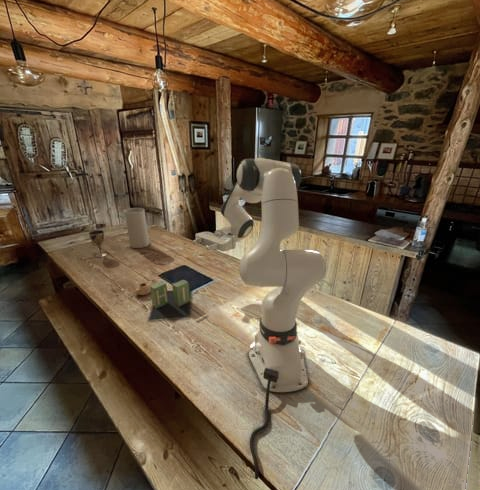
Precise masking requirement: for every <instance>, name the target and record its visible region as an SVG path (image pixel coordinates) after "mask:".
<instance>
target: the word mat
mask: <svg viewBox="0 0 480 490" xmlns="http://www.w3.org/2000/svg"><path fill="white" fill-rule="evenodd" d="M167 294H168V302H169V303H167V304H165V305H163V306H161V307H159V308H156V307H154V306H153V305H152V310H151V313H150V316H149V321H155V320H169V319H182V318H183V319H184V318H190V310H191V309H190V308H191V307H190V306H191V300H190V301H189V302H187V303H185V304H183V305H181V306H177V305H176V304H174V295H173V290H167ZM191 294H192V289H189V297H190V298H192V297H191Z"/></svg>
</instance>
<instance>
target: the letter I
mask: <svg viewBox="0 0 480 490" xmlns="http://www.w3.org/2000/svg"><path fill="white" fill-rule="evenodd" d="M189 285H190V284H189V282H188V281H187V280H185V279H182V280H179V281H177V282H174V283H172V285H171V286H172V291H173V295H174V304H176V305H177V306H181V305H183V304H185V303H187V302H189V301H190V302H191V297H189V290H190V286H189Z"/></svg>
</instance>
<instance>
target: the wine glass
mask: <svg viewBox="0 0 480 490" xmlns="http://www.w3.org/2000/svg"><path fill="white" fill-rule="evenodd" d="M104 232H105V231H103V230H92V231H90V232H89V233H88V234H89V238H90V241H91V242H92V243H93V244H95V245H96V246H97V247H98V250H99V253H96V254H95V255H94V256H95V257H96V258H103V257H105V256H107V255H108V253H107V252H105V251H104V252H102V245H103V243H104V241H105V233H104Z"/></svg>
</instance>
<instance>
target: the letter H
mask: <svg viewBox="0 0 480 490" xmlns="http://www.w3.org/2000/svg"><path fill="white" fill-rule="evenodd" d="M150 291H151V292H150V297H151V303H152V307H153V306H154V307H156V308H159V307H161V306H163V305H165V304H167V303H169V302H168V294H167V291H168V287H167V283H166V282H165V281H163V280H160V281H157V283H156V284H153V285H151V286H150Z"/></svg>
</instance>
